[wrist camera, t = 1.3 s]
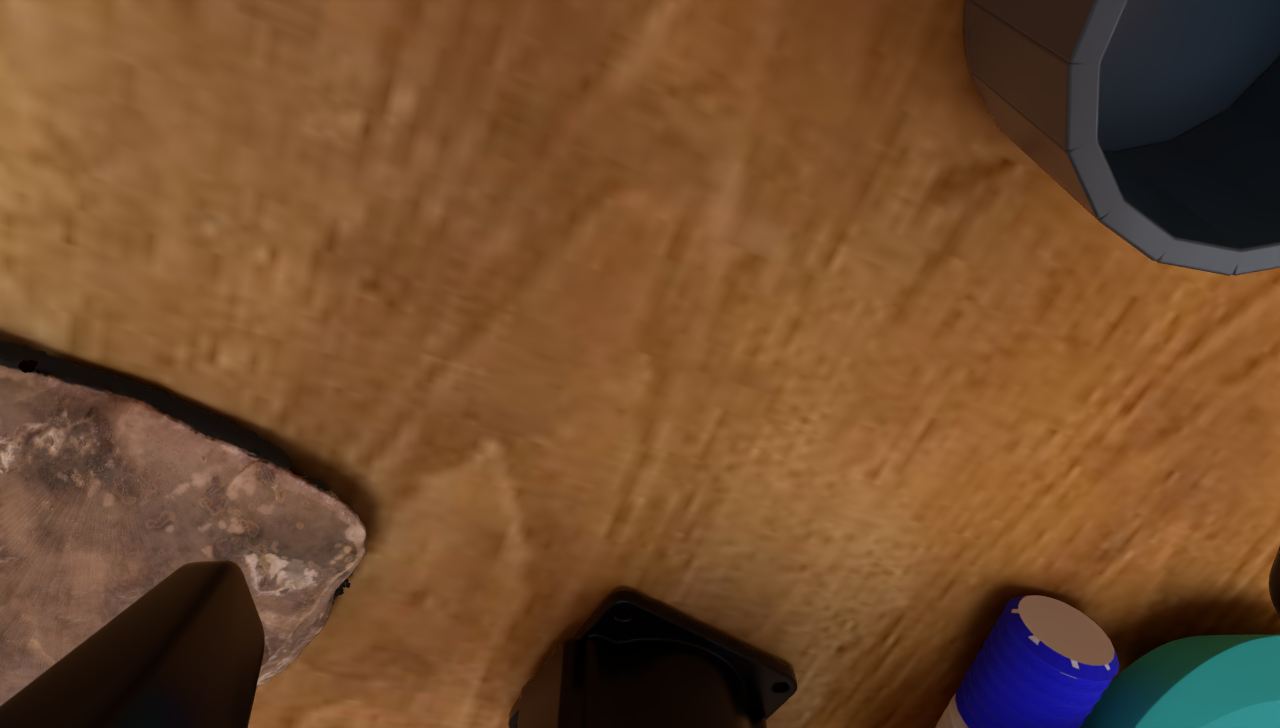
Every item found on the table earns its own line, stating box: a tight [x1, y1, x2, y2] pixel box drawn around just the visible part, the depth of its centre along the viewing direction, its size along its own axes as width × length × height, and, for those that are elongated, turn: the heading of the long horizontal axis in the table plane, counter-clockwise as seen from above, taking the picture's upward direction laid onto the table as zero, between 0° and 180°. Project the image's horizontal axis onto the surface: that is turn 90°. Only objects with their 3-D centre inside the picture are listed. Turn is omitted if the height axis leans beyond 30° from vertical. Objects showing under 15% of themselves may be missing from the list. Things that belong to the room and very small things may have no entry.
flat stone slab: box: [0, 341, 367, 706], centre depth 24 cm, size 12×13×4 cm
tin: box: [963, 0, 1280, 275], centre depth 17 cm, size 7×7×5 cm
